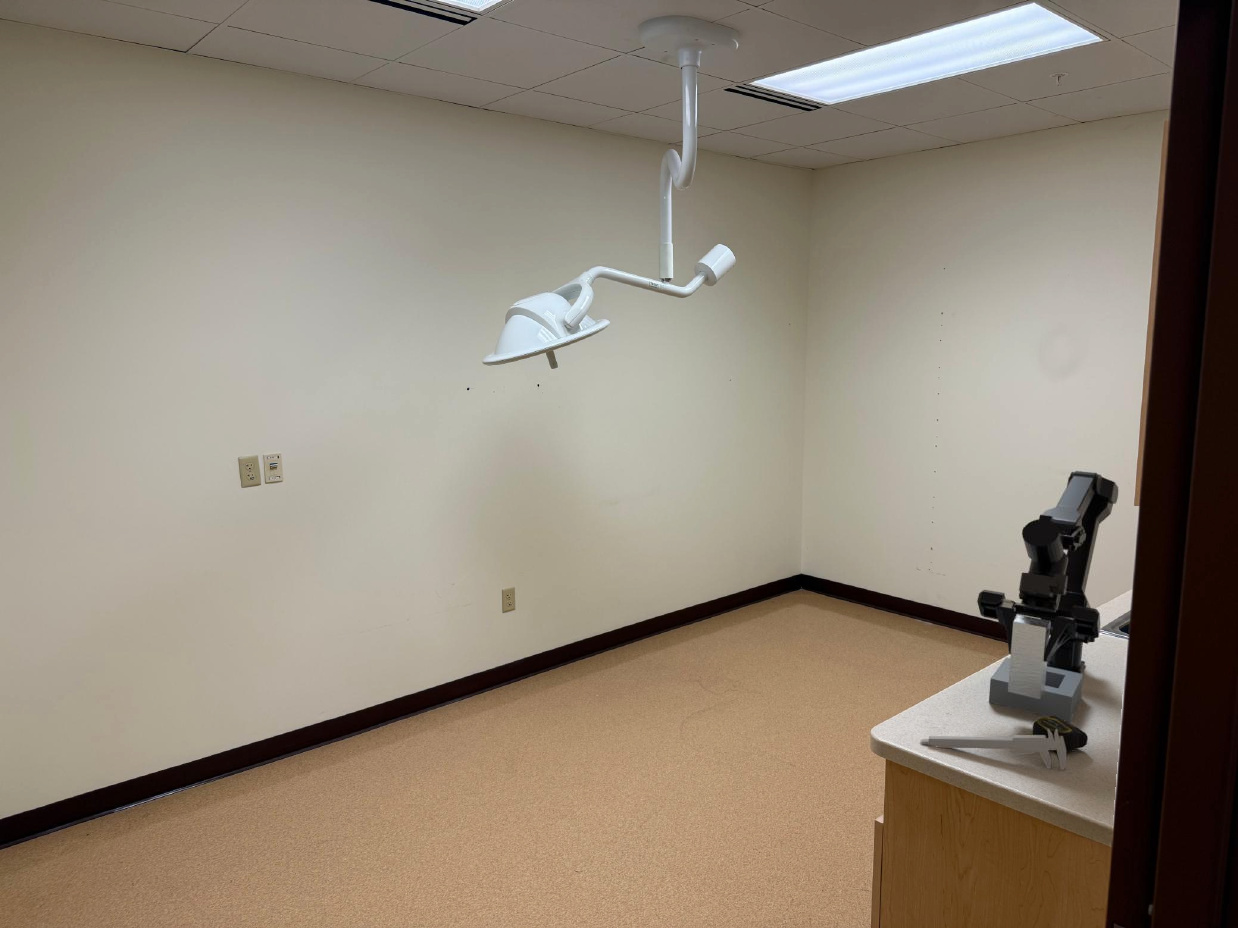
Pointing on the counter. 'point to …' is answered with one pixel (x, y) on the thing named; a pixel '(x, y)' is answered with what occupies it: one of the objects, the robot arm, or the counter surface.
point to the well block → (1055, 699)
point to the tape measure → (1061, 732)
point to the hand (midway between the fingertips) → (1027, 656)
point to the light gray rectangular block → (1028, 656)
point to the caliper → (1008, 744)
